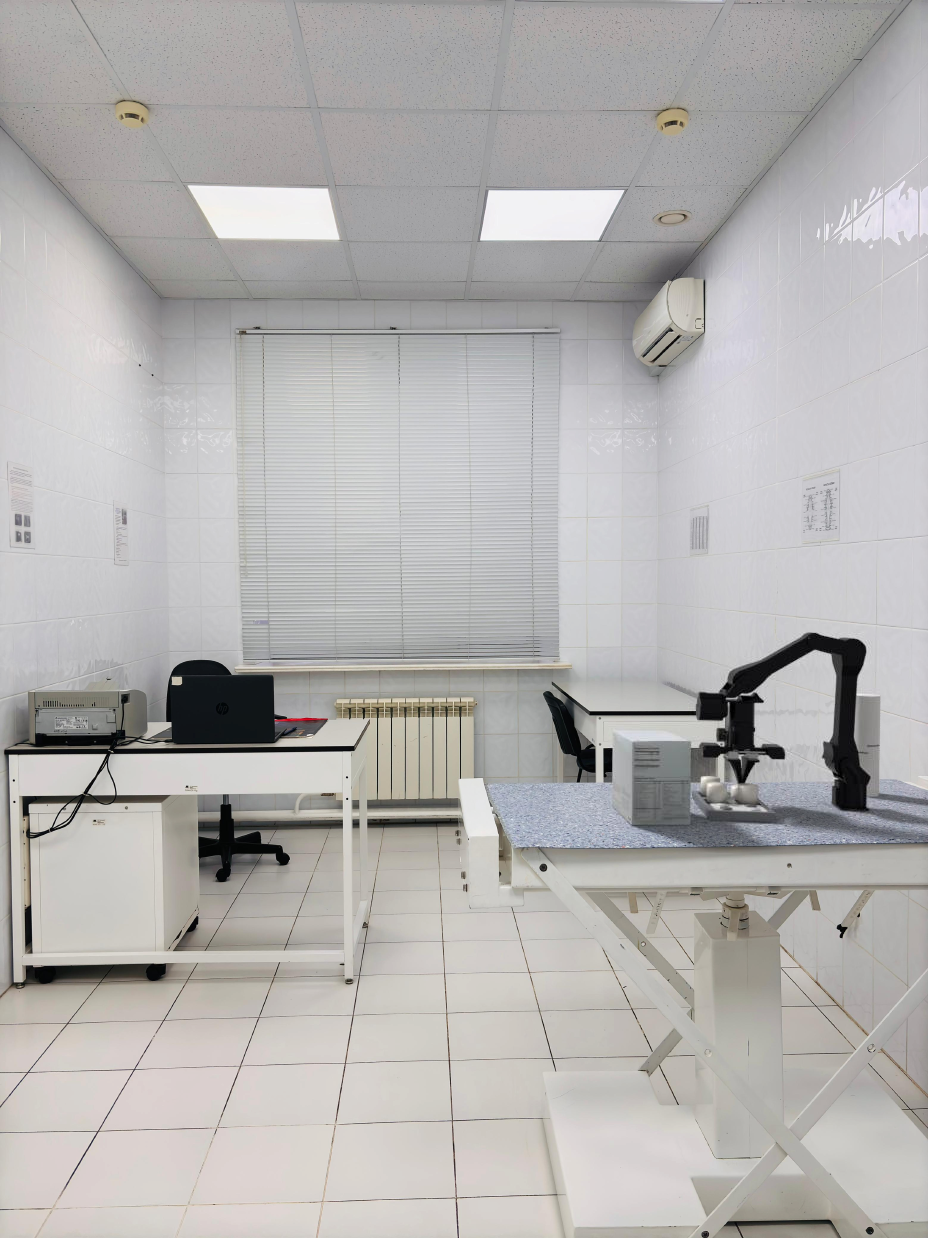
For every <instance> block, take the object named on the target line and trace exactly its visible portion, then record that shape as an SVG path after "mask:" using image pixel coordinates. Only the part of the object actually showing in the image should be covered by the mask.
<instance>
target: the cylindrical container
mask: <svg viewBox="0 0 928 1238" xmlns="http://www.w3.org/2000/svg"><path fill="white" fill-rule="evenodd" d="M854 739H855V743H856V746H857V749H858V753H859V761H860V767H861V768H862V769H863V770H864V771H865V772H866V773H867V774H868V775H869V776H870V777H871V778H870V781H869V783H868V785H867V797H868V798H874V797H875V798H876V797H878V796H880V755H881V754H880V751H881V750H880V748H881V747H880V744H881V741H880V739H881V695H880V694H876V693H873V694H872V693H860V692H859V693H857V695H856V712H855V730H854Z"/></svg>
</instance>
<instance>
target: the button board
mask: <svg viewBox="0 0 928 1238" xmlns="http://www.w3.org/2000/svg"><path fill="white" fill-rule="evenodd" d="M692 799H693V800H694V801H695V802H694V801H693V800H692ZM691 800H692V801H693V802H694V804H695V805H696V806H697V805H698V806H697V807H698V809H700V811H701V812H702V813H703V815H704V816H705V817H706V818H707V819H708V821H729V822H731V821H732V822H733V821H735V822H753V821H754V823H755V821H756V822H757V823H759V822H760V823H776V812H774V810H772V809H771V808H770V807H769V806H767V804H766V803H764V802H763V801H762V800H761V799H759V798H758V804H757V805H754V804H740V803H738V798H732V797H731V791H727V803H717V804H713V803H709V802H707V796H703V795H701V790H691Z"/></svg>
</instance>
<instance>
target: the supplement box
mask: <svg viewBox="0 0 928 1238" xmlns="http://www.w3.org/2000/svg"><path fill="white" fill-rule="evenodd" d="M691 768H692V741H691V740H688V739H685V738H683V737H681V736H678V734H677V735H676V734H675V733H672V732H669V731H667V730H645V729H644V730H643V729H640V730H635V729H634V730H632V729H631V730H630V729H628V730H627V729H626V730H623V729H622V730H621V729H620V730H619V729H613V730H612V779H611V780H612V781H611V782H612V783H611V785H612V789H611V791H612V792H611V793H612V794H611V799H612V800H611V802H612V803H611V806H612V807H613V808H614V809H615V810H616V811H617V812H618V813H619V815H621V817H623V818H624V819H625V820H626V821H627V823H629V824H630V825H631V826H690V825H691V796H692V790H691V785H692V784H691V782H692V780H691V779H692V776H691V775H692V774H691V773H692V772H691Z"/></svg>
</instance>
